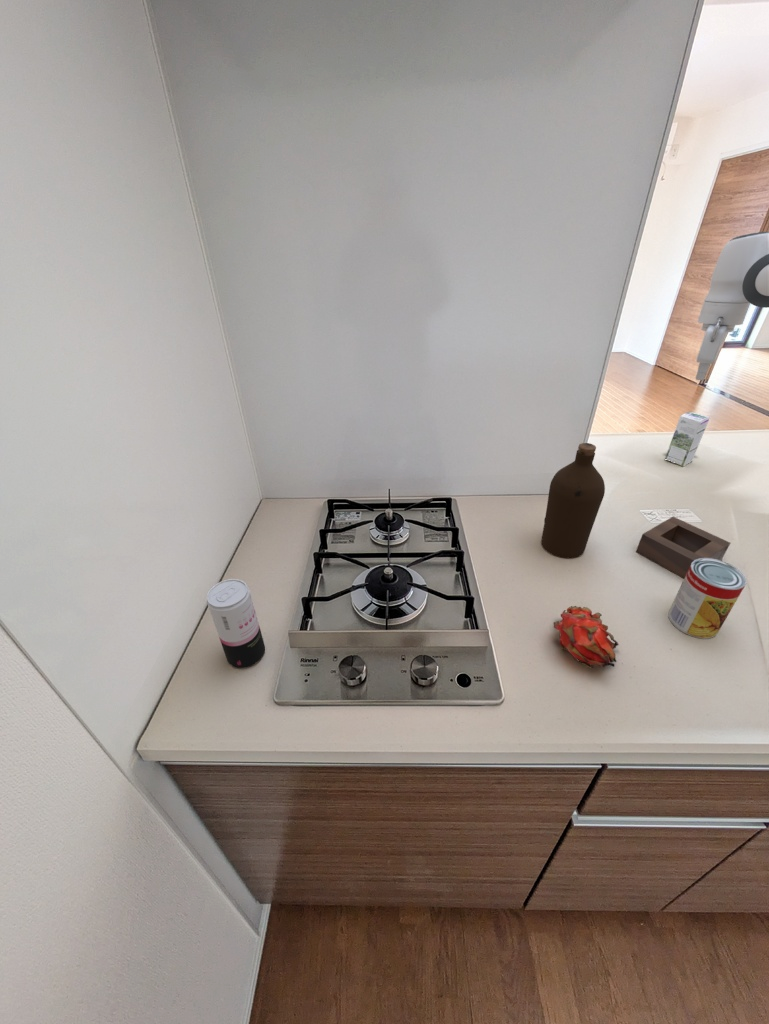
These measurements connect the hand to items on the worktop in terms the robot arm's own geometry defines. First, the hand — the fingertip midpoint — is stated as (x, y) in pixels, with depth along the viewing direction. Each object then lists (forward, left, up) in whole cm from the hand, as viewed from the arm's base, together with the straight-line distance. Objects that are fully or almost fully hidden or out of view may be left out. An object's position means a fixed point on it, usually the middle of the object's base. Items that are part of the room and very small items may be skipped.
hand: (701, 375), depth 109 cm
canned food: (-5, +58, -29) cm, 65 cm away
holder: (-3, +38, -29) cm, 48 cm away
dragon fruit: (+12, +74, -29) cm, 81 cm away
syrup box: (-4, -13, -29) cm, 32 cm away
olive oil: (+20, +45, -29) cm, 58 cm away
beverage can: (+64, +101, -29) cm, 124 cm away
